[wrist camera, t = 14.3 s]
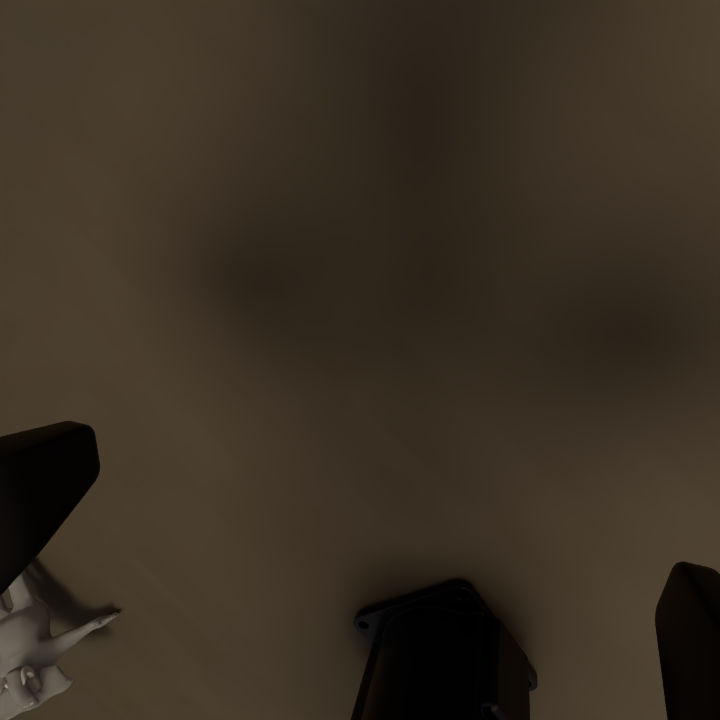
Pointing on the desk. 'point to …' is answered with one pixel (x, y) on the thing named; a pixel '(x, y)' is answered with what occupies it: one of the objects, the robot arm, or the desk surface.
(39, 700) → the elephant figurine
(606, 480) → the desk surface
